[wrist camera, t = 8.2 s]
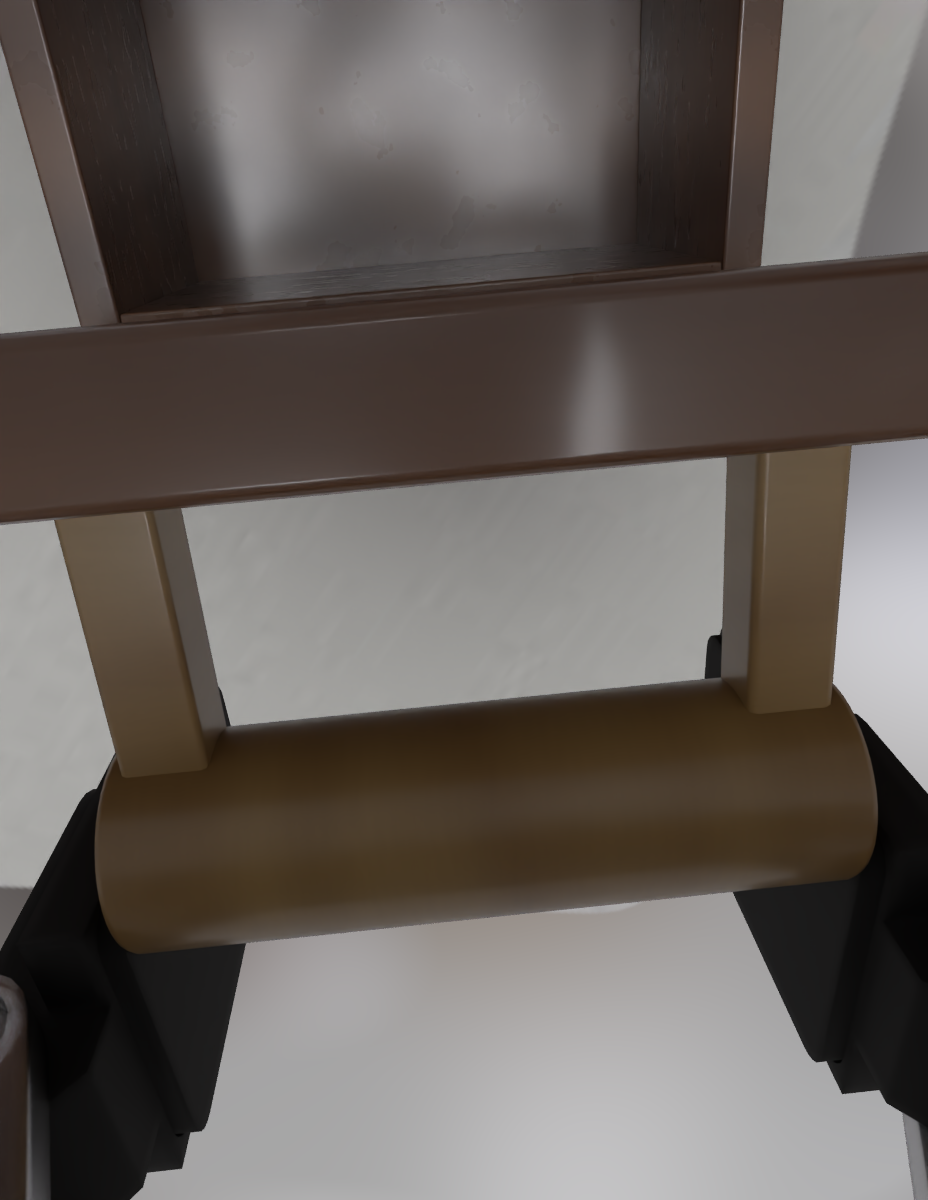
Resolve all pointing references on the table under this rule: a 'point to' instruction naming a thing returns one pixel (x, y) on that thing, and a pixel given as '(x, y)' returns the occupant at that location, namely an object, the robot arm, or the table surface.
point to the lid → (486, 728)
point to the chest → (390, 145)
